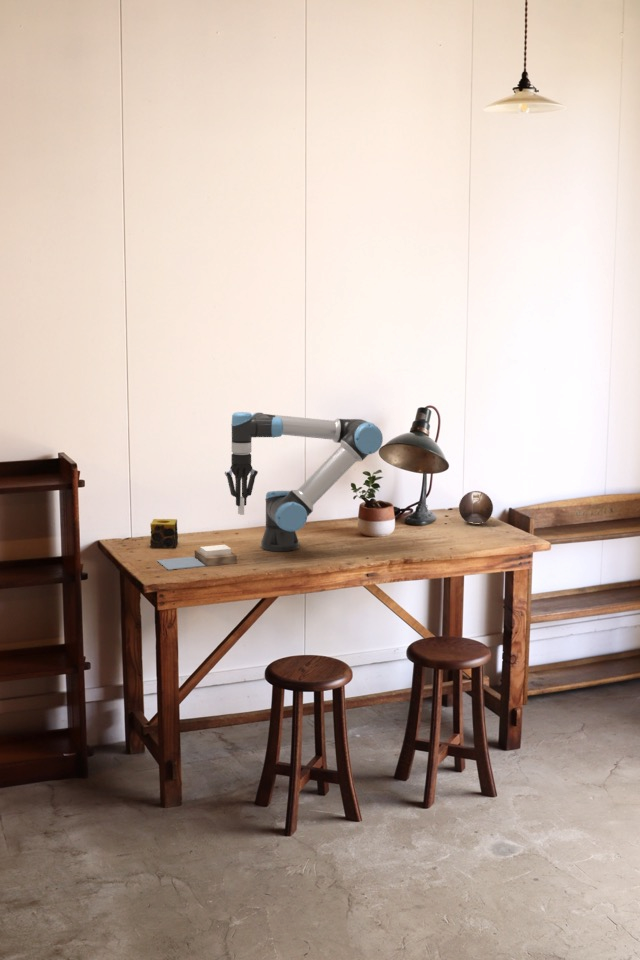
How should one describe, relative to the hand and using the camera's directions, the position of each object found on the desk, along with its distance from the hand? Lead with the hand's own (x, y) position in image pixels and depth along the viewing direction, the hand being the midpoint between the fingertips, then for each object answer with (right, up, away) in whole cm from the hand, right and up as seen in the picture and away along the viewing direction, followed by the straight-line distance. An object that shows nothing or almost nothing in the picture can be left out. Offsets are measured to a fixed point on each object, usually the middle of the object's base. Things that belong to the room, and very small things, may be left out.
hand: (241, 513), depth 406 cm
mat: (-22, -19, -7) cm, 30 cm away
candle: (-32, -14, +21) cm, 41 cm away
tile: (-10, -15, -2) cm, 18 cm away
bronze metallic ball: (+100, -7, +68) cm, 121 cm away
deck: (-10, -18, -1) cm, 20 cm away
